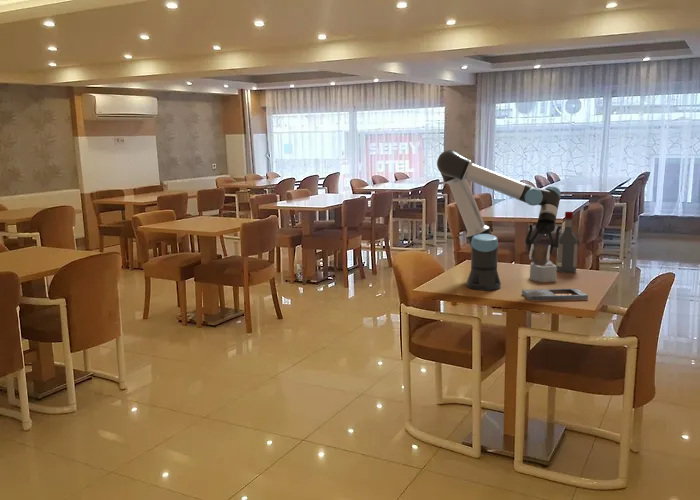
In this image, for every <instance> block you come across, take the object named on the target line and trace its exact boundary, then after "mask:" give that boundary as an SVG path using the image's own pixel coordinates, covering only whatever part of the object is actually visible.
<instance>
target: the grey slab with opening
mask: <svg viewBox="0 0 700 500" xmlns="http://www.w3.org/2000/svg"><path fill="white" fill-rule="evenodd" d="M521 295H522V296H523V297H525V298H526V299H528V301H530V302H551V301H552V302H557V301H589V294H587V293H585V292H583V291H582V290H580V289H578V288H537V289H535V288H533V289H521Z"/></svg>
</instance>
